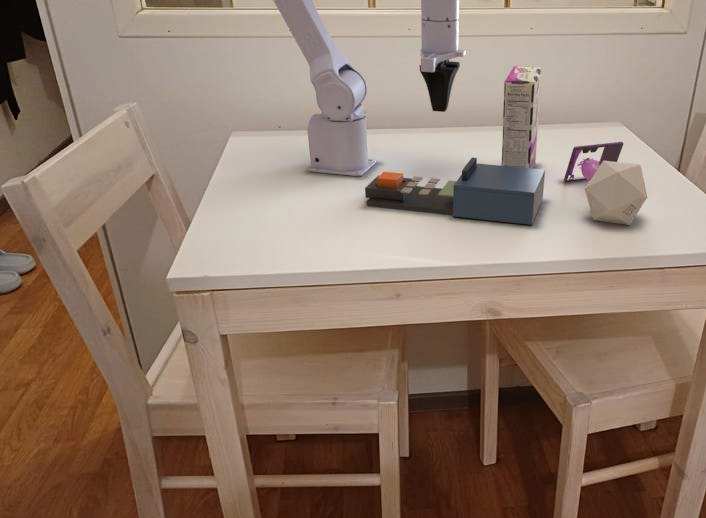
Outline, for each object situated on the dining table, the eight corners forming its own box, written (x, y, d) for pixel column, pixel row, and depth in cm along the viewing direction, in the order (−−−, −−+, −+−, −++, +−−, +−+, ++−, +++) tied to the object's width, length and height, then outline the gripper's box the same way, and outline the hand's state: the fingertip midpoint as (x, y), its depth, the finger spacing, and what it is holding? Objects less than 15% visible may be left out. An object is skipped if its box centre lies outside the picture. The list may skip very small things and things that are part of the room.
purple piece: (620, 138, 117) (571, 143, 114) (635, 158, 114) (585, 163, 112) (608, 172, 122) (561, 178, 120) (622, 192, 119) (574, 198, 117)
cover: (453, 216, 105) (453, 174, 102) (469, 192, 114) (470, 153, 110) (532, 225, 103) (535, 182, 99) (542, 199, 111) (546, 159, 108)
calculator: (362, 206, 109) (361, 190, 108) (381, 187, 116) (380, 172, 115) (462, 217, 106) (463, 200, 105) (475, 197, 113) (476, 181, 112)
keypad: (400, 192, 107) (400, 191, 107) (414, 177, 113) (414, 176, 113) (453, 197, 106) (453, 196, 105) (464, 182, 111) (464, 181, 111)
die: (613, 240, 101) (663, 183, 97) (565, 199, 102) (613, 141, 98) (618, 239, 109) (665, 186, 105) (574, 201, 110) (619, 147, 106)
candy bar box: (507, 163, 127) (512, 65, 118) (535, 165, 127) (543, 66, 118) (498, 184, 118) (503, 79, 109) (528, 186, 117) (536, 81, 108)
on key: (377, 187, 110) (376, 178, 109) (383, 181, 113) (383, 171, 112) (397, 189, 109) (396, 179, 108) (403, 183, 112) (403, 173, 111)
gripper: (453, 27, 103) (452, 123, 110) (476, 13, 115) (473, 101, 122) (406, 24, 104) (408, 120, 112) (433, 11, 116) (433, 98, 123)
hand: (439, 110), depth 117 cm, fingers closed
